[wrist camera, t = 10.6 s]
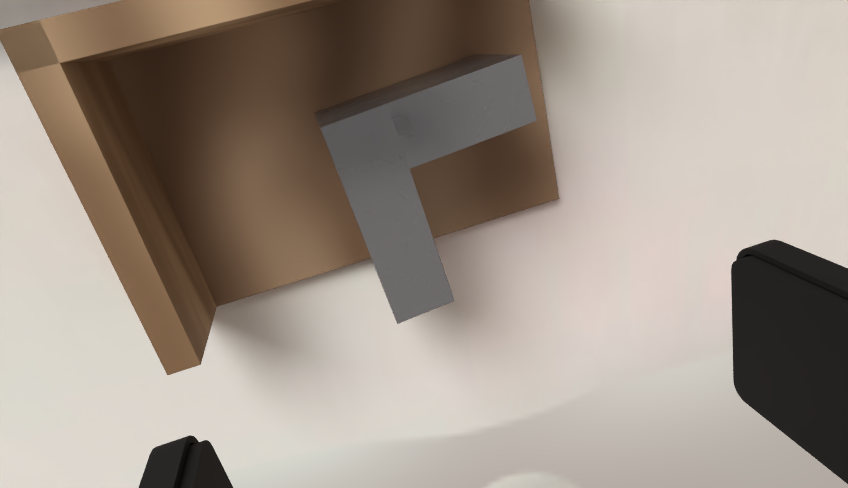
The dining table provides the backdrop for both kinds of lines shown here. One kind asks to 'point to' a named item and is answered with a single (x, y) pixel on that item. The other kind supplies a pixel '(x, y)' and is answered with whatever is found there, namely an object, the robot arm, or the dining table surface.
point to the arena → (255, 137)
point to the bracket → (417, 161)
